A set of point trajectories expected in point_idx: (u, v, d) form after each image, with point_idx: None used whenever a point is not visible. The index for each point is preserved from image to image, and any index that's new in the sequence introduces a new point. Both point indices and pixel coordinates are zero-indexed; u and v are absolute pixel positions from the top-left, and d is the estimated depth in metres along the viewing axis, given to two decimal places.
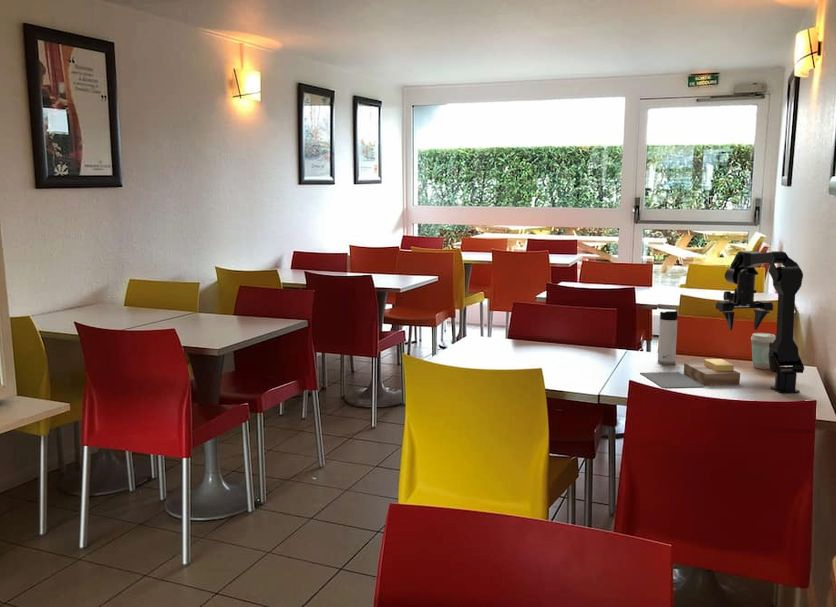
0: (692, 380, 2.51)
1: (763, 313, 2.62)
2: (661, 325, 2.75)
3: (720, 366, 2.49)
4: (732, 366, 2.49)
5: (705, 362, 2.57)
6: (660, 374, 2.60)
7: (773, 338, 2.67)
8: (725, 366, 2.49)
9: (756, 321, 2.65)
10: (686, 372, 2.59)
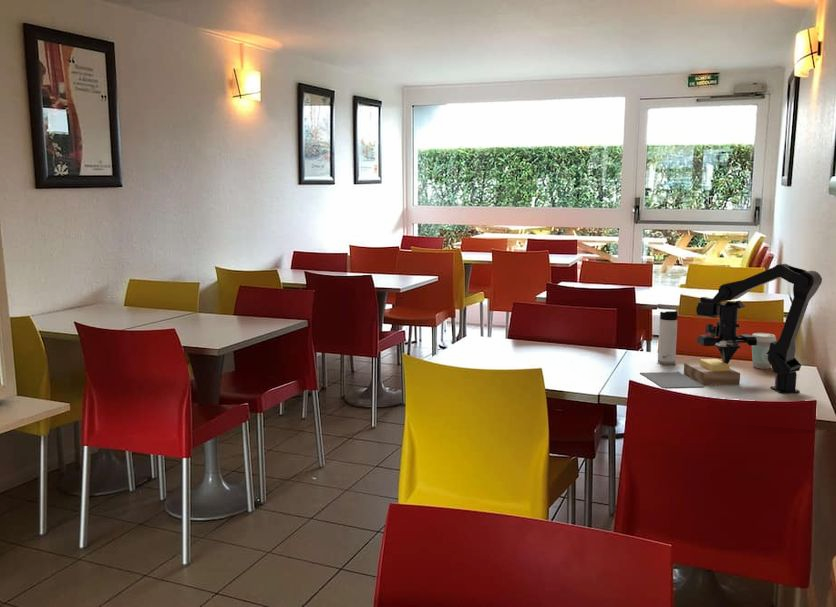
0: (692, 380, 2.51)
1: (734, 348, 2.50)
2: (661, 325, 2.75)
3: (716, 366, 2.49)
4: (728, 366, 2.49)
5: (701, 362, 2.57)
6: (660, 374, 2.60)
7: (773, 338, 2.67)
8: (721, 366, 2.49)
9: None
10: (686, 372, 2.59)
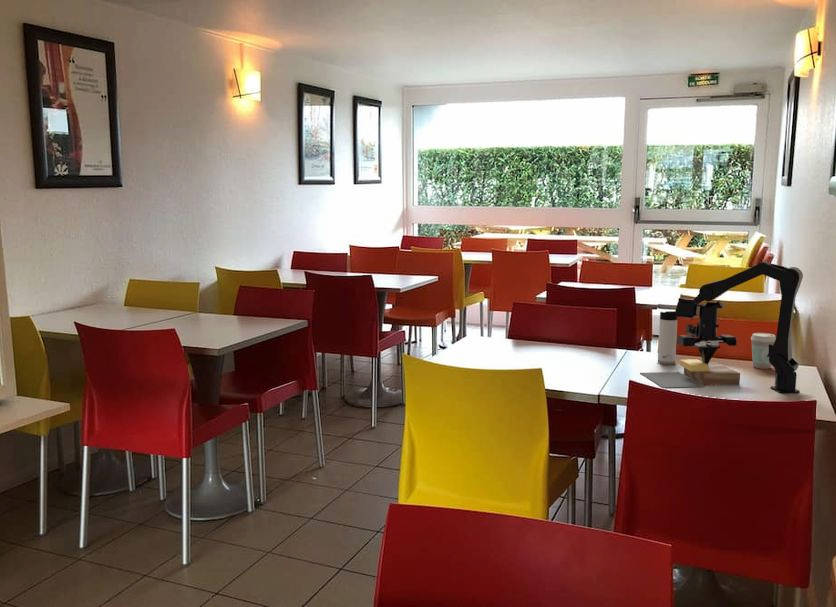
0: (692, 380, 2.51)
1: (713, 348, 2.50)
2: (661, 325, 2.75)
3: (695, 366, 2.48)
4: (707, 366, 2.49)
5: (681, 362, 2.56)
6: (660, 374, 2.60)
7: (773, 338, 2.67)
8: (700, 366, 2.49)
9: None
10: (686, 372, 2.59)
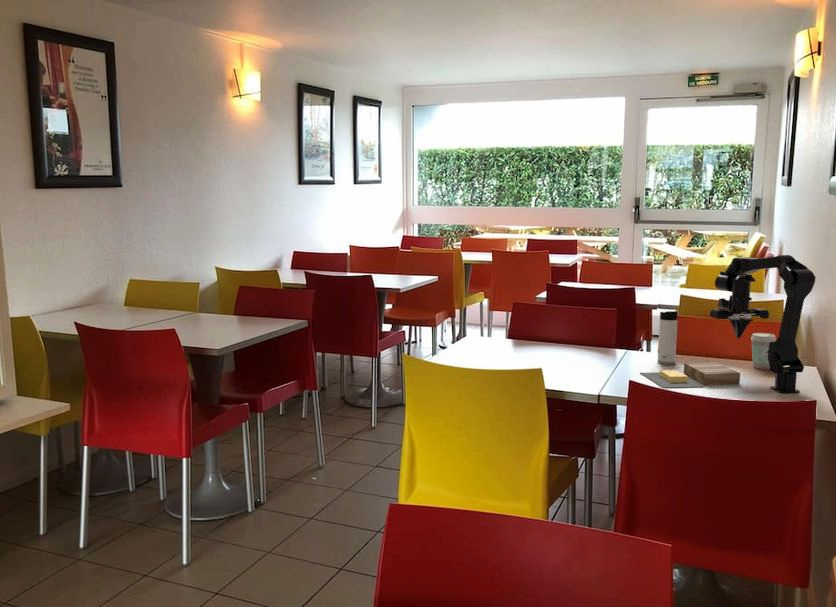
0: (692, 380, 2.51)
1: (746, 321, 2.55)
2: (661, 325, 2.75)
3: (683, 380, 2.49)
4: (671, 380, 2.49)
5: None
6: None
7: (773, 338, 2.67)
8: (678, 380, 2.49)
9: None
10: (686, 372, 2.59)
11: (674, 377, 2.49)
